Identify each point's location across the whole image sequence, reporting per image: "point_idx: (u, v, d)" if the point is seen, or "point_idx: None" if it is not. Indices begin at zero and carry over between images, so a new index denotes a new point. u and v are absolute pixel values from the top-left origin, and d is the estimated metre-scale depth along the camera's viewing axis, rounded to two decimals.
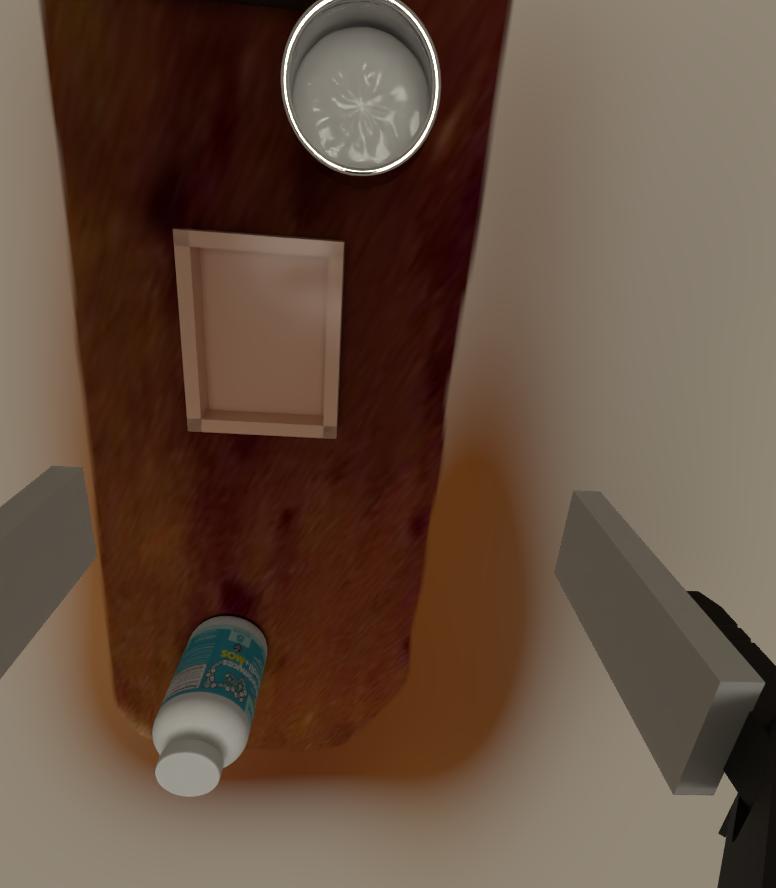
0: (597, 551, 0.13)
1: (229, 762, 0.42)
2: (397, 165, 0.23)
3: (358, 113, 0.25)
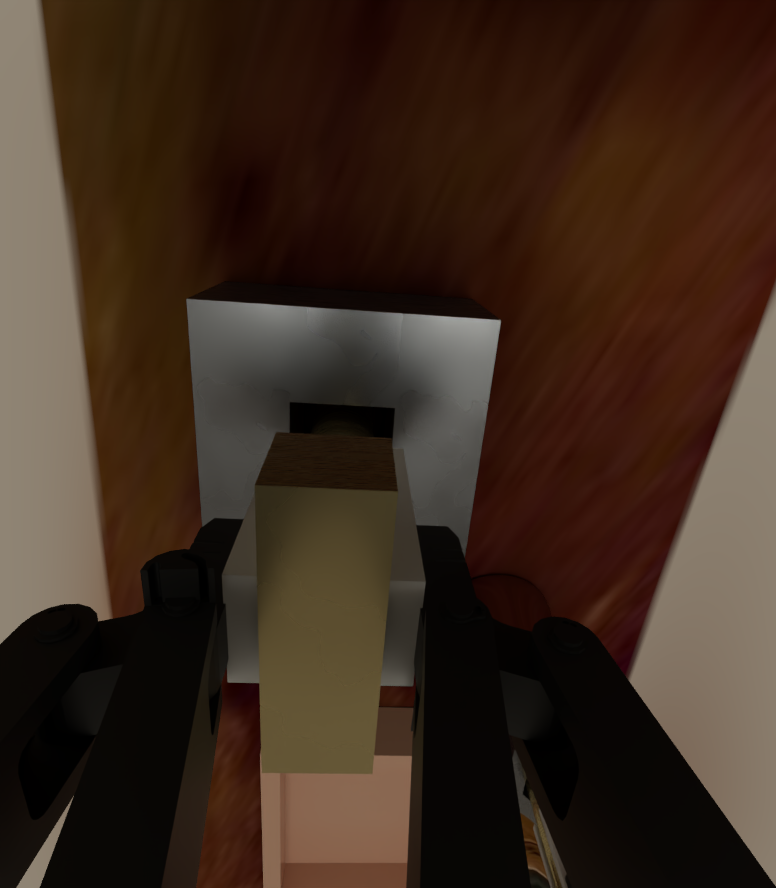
0: None
1: None
2: None
3: None
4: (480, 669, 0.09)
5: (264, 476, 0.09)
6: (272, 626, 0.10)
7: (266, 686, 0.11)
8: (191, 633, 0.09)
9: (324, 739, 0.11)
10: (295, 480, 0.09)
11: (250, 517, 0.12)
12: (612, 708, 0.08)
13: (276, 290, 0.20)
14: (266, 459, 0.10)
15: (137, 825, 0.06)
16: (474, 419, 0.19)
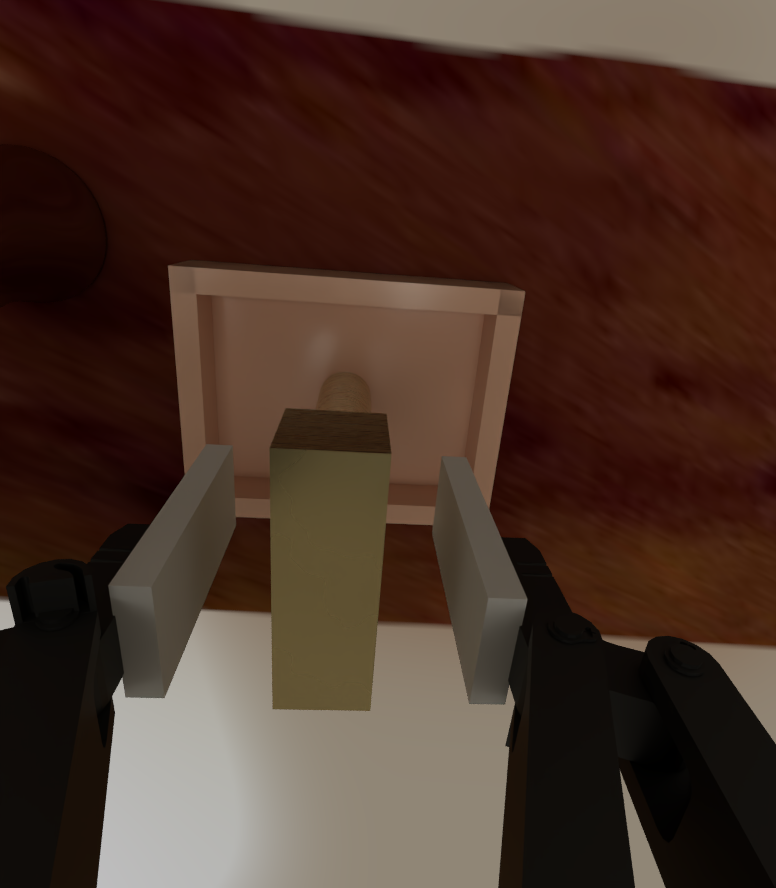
0: (449, 507, 0.14)
1: None
2: None
3: None
4: (589, 693, 0.08)
5: (277, 441, 0.11)
6: (283, 574, 0.12)
7: (277, 628, 0.12)
8: (70, 645, 0.08)
9: (328, 677, 0.13)
10: (303, 444, 0.11)
11: (157, 523, 0.12)
12: (733, 735, 0.08)
13: None
14: (277, 428, 0.11)
15: (17, 846, 0.06)
16: None
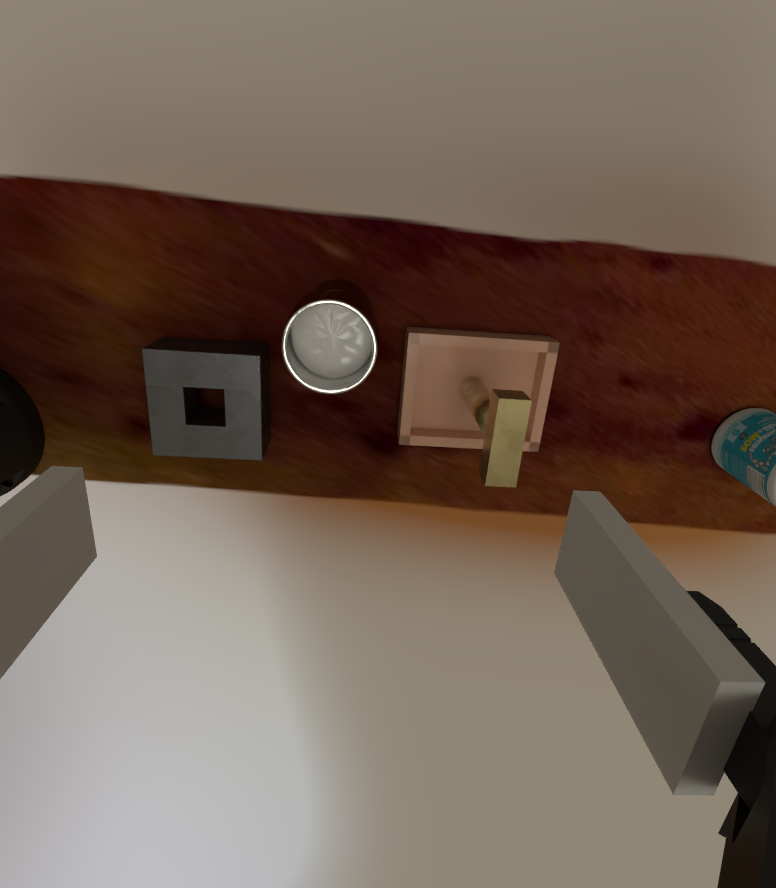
0: (597, 552, 0.13)
1: None
2: (370, 326, 0.36)
3: (337, 338, 0.40)
4: None
5: (499, 397, 0.39)
6: (496, 437, 0.39)
7: (491, 455, 0.40)
8: None
9: (504, 474, 0.41)
10: (507, 397, 0.39)
11: None
12: None
13: None
14: (496, 394, 0.39)
15: None
16: (183, 355, 0.46)
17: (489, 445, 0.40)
